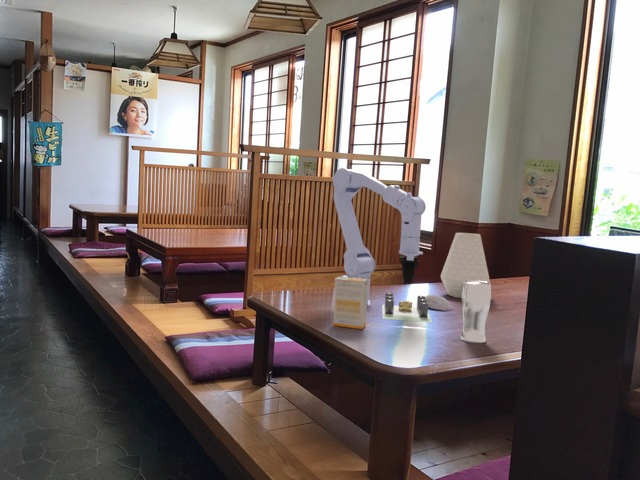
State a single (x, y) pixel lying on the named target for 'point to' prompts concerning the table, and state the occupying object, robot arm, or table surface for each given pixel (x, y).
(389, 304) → the spacers
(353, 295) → the supplement box
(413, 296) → the table surface
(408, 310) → the brass knob
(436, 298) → the seashell
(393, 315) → the field mat
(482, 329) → the beer glass
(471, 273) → the vase
